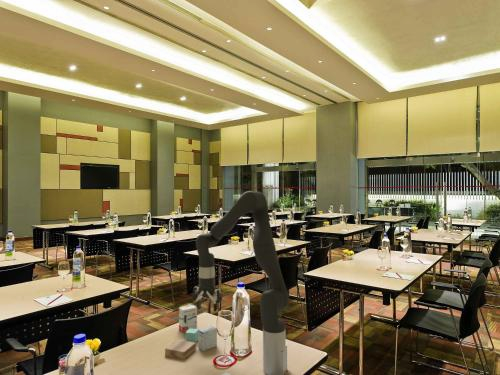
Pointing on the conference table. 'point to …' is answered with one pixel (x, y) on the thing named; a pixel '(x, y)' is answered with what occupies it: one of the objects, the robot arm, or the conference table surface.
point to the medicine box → (207, 338)
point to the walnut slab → (180, 349)
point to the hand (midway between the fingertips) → (207, 310)
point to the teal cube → (191, 335)
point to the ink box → (187, 318)
